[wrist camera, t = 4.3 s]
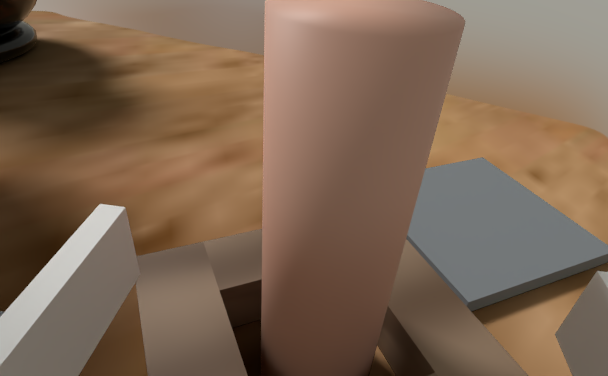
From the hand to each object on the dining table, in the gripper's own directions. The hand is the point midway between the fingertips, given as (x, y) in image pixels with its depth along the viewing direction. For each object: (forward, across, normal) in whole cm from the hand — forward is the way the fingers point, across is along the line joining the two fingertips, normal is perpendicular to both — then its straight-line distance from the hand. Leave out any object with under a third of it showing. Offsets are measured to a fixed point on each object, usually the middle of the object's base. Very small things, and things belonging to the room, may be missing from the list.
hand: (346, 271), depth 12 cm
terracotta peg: (+3, 0, -9) cm, 10 cm away
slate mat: (+15, +9, -9) cm, 20 cm away
